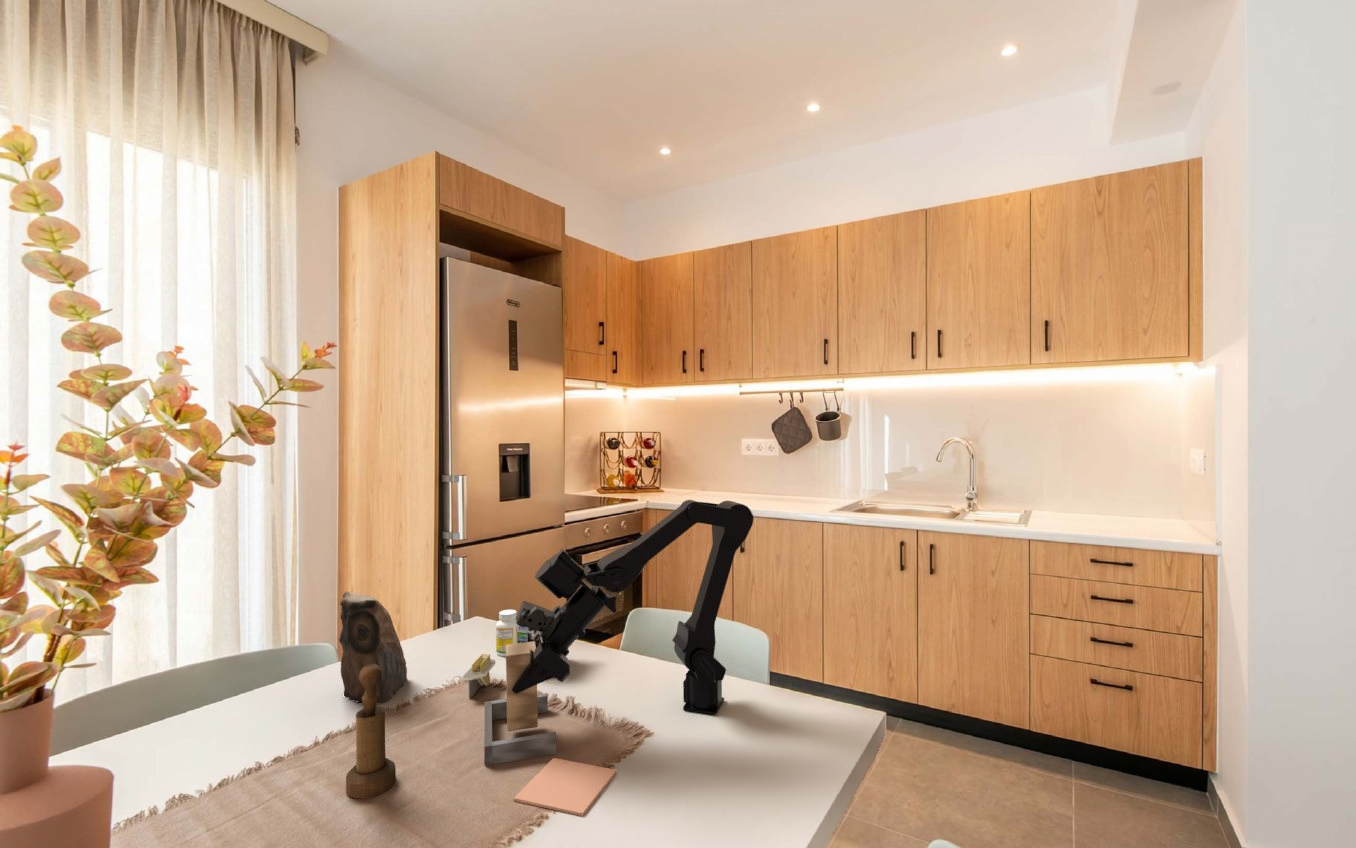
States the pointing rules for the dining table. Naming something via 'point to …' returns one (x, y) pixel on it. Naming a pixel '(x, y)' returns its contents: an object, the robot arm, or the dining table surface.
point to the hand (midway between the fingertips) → (513, 685)
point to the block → (525, 702)
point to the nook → (516, 746)
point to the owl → (369, 647)
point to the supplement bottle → (506, 631)
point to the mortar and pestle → (370, 743)
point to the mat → (566, 786)
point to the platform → (479, 673)
